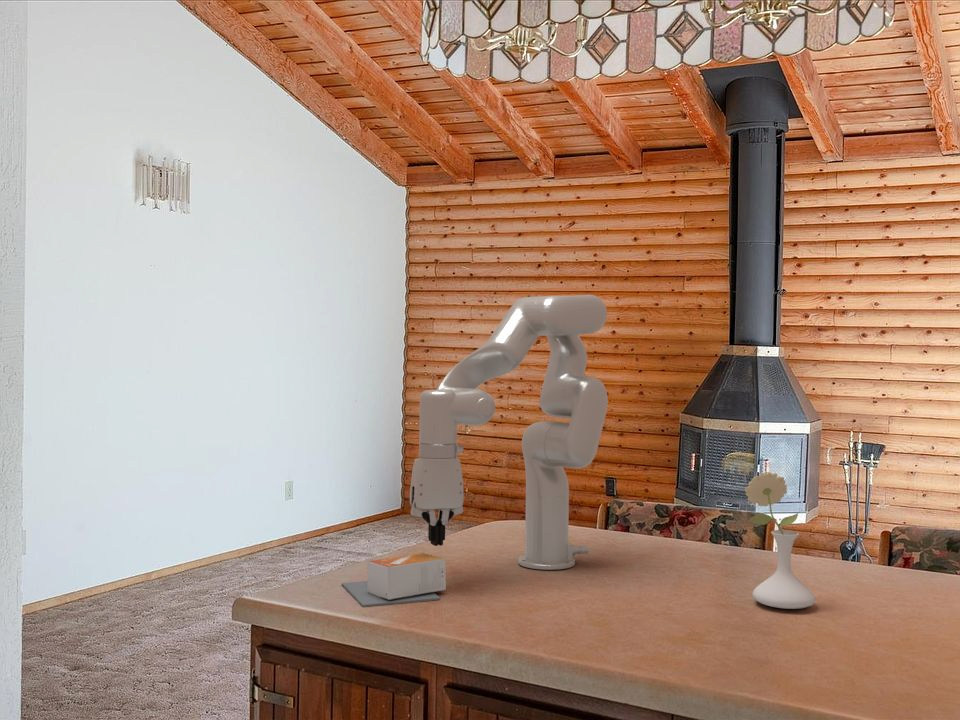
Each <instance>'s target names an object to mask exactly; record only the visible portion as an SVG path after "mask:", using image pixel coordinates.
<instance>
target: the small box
mask: <svg viewBox="0 0 960 720" xmlns="http://www.w3.org/2000/svg"><path fill="white" fill-rule="evenodd" d="M446 570H447V569H446V559H445V557H440V556H437V555H432V554H429V553H426V552H421V553H415V554H408V555H401V556H394V557H393V556H392V557H388V558H381V559H380V558H379V559H373V560H367V581H368V593H370V594H373V595H376V596H378V597H382V598H385V599H388V600H390V599H396V598H402V597H408V596H413V595H418V594H424V593H430V592H433V593H435V592H442V591H446V589H447V581H446V580H447V579H446V578H447V577H446V576H447V575H446Z"/></svg>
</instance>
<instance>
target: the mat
mask: <svg viewBox="0 0 960 720" xmlns="http://www.w3.org/2000/svg"><path fill="white" fill-rule="evenodd" d="M341 586H342V587H343V588H344V589H345V591H347V593H349V595H351V596H352V598H353V599H354V600H355V601H356V602H357V601H358V602H359V603H358V602H357V603H358V604H359V605H360V606H361V607H362V608H366V607H368V608H370V607H379V606H387V605H388V606H389V605H400V604H411V603H422V601H423V602H433V600H434V601H440V600H441V597H440V596H439V595H438V594H436V593H435V592H430V593H424V594H418V595H413V596H408V597H402V598H396V599H390V600H388V599H385V598H382V597H378V596H376V595H373V594H370V593H368V580H365V581H364V580H363V581H352V582H342V583H341Z"/></svg>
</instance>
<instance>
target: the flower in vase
mask: <svg viewBox="0 0 960 720" xmlns="http://www.w3.org/2000/svg"><path fill="white" fill-rule="evenodd" d="M750 480H751V481H749V482H748V483H747V484H748V486H746V487H745V488H744V492H745V496H746V497H747V501H748V502H750V503H751V504H757V506H761V507H768V506H769V512H770V515H771V516H770V515H769V514H767V513H758V514H756V515H754V516H752V517H751V518H750V520H749V521H748V522H749V523H753V524H756V525H761V526H762V525H763V526H764V525H767V524H768V523H769V522H771V521H772V520H773V521H774V524H775V525H776V527H777V528H778V529H774V530H771V531H770V533H771V534H772V536H773V538H774V540H775V544H776V547H777V555H778V556H777V557H778V558H777V567H776V570H775V572H774V573H773V574H772V575H770V577H768V578H766V579H765V580H764V581H762V582H761V583H760V584H758V585H756V587H755V588H754V589H753V591H752V597H753V599H754V600H755V601H757V602H759V604H762V605H765V606H769V607H772V608H778V609H785V610H786V609H787V610H796V609H804V608H809V607H811V606H813V605H815V603H816V601H817V597H816V595H815V594H814V592H813V591H812V590H811V589H810V588H809V587H808V586H807V585H806V584H805V583H803V582H802V581H801V580H800V579H799V578H798V577H797V576H796V575H795V574H794V572H793V570H792V565H791V564H792V562H791V560H792V559H791V558H792V549H793V546H794V543H795V540H796V538H797V537H798V536H799V532H798V531H794V530H787V529H782V528H781V527H783V526H789V525H791V524H793V523H794V522H796V521H797V519H798V517H799V512H797V513H795V514H793V515H790V516H786V517H783V518H782V519H781V520H780V522H779V523H778V521H777V520H776V519H775V517H774V514H773V511H772V510H773V509H772V506H773V505H774V504H775V503H776V504H777V503H780V502H781V501H782V499H783V498H784V497H785V495H786V494H787V493H788V488H787V484H786V480H785V478H784V477H783V476H778V474H777V473H776V472H775V473H772V472H770V471H769V472H767V473H764V472H760V473H759V475H755V476H753V478H751V479H750Z"/></svg>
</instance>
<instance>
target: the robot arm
mask: <svg viewBox="0 0 960 720" xmlns="http://www.w3.org/2000/svg"><path fill="white" fill-rule="evenodd" d="M607 317H608V311H607V306H606V304H605V303H604V301H603V300H602V298H600V297H598V296H597V295H594V294H580V295H579V294H578V295H577V294H575V295H546V296H545V295H541V296H536V295H535V296H526V297H522V298H519V299H517V300H516V301H514V303H513V304H512V305H511V306H510V308H509V309H508V310H507V312H506V314H505V315H504V316H503V317H502V319H501V320H500V322H499V324H498V325H497V326H496V328H495V329H494V331H493V332H492V333H491V335H490V336H489V338H488V339H487V341H486V342H485V343H484V344H483V345H482V346H480V347H479V348H477V349H476V350H474V351H473V352H471V353H470V354H469V355H467V356H465V358H463V359H462V360H460V361H459V362H458V363H456V364H455V365H454V366H453V367H452V368H451V369H450V370H449V371H448V372H447V373H446V375H445V376H444V378H443V379H442V381H441V382H440V383H439V385H438V386H437V388H436V389H426V390H424V391H422V392H421V394H420V397H419V422H418V425H419V427H418V428H419V431H418V434H419V435H418V439H419V440H418V458H414V462H413V465H412V472H411V479H410V488H409V504H410V506H411V507H410V508H411V509H410V515H412V516H414V517H418V518H422V519H423V520H424V521H425V522H426V523H427V524H428V530H427V531H428V532H427V533H428V535H427V536H428V537H427V538H428V541H429V542H430V544H431V545H432V546H434V547H436V546H437V547H438V546H444V541H446V540H445V539H446V526H447V525H448V522H449V521H450V520H451V519H452V517H454V516H457V515H461V514H464V513H463V512H464V506H463V505H464V498H465V497H464V496H465V495H464V491H465V490H464V478H463V470H462V466H461V465H462V463H461V459H460V458H458V456H459V453H463V452H464V446H463V445H459V443H458V426H459V425H463V426H468V427H469V426H470V427H471V426H472V427H477V426H483V425H485V424H487V423H488V422H489V421H491V419H492V418H493V417H494V415H495V412H496V403H495V400H494V398H493V396H491V394H490V393H488V392H487V391H485V390H483V389H479V388H478V387H480V386H481V385H482V384H484V383H486V382H489V381H490V380H493V379H495V378H498V377H502V376H503V375H506V374H508V373H511V372H512V371H514V370H516V369H517V368H519V366H520V365H521V363H522V362H523V360H524V358H526V356H527V355H528V352H529V351H530V350H531V348H532V346H533V345H534V344H535V342H536V341H537V340H538V338H539V337H543V336H545V337H546V339H547V341H548V346H549V358H548V359H549V360H548V363H547V366H546V367H547V368H546V371H545V375H544V380H543V384H542V387H541V390H540V391H541V392H540V396H539V407H540V410H541V412H543V413H544V414H546V415H547V416H549V417H554V418H559V419H570V421H569V423H567V422H560V421H558V422H557V421H548V420H545V421H544V420H543V421H537V422H534V423H532V424H530V425H529V426H528V427H527V428H526V429H525V430H524V432H523V435H522V438H521V448H522V449H521V452H522V455H523V457H522V458H523V461H524V469H525V470H524V471H525V533H524V534H525V536H524V540H525V541H524V542H525V543H524V544H525V547H524V549H525V550H524V552H525V553H524V554H522V555H520V556H518V557H517V560H518V561H517V563H518V564H519V566H522V567H524V568H527V569H528V568H529V569H534V570H543V571H544V570H545V571H546V570H547V571H552V570H553V571H556V570H557V571H558V570H566V569H569V568H572V567H574V566H575V565H576V559H575V558H574V557H575V556H576V555H587V554H588V553H589V547H588V545H587V544H583V545H580V544H579V545H578V544H572V543H571V542H569V509H570V503H569V502H570V501H569V500H570V487H569V485H570V484H569V479H568V476H567V473H566V470H565V469H564V468H570V469H583V468H586V467H587V466H590V464H591V463H592V462H593V460H594V459H595V457H596V455H597V451H598V447H599V443H600V439H601V436H602V432H603V428H604V424H605V420H606V415H607V412H608V411H607V410H608V405H609V403H608V402H609V401H608V400H609V399H608V392H607V389H606V387H605V385H604V383H603V381H602V380H600V379H599V378H597V377H593V376H588V375H587V376H586V375H585V374H586V370H587V369H586V368H587V362H588V353H587V349H586V346H585V344H584V343H583V340H582V339H581V337H580V335H589V334H595V333H597V332H599V331H601V329H602V328H603V327H604V326H605V324H606V322H607ZM436 511H438V513H437V514H438V515H436ZM436 516H437V518H436Z"/></svg>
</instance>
